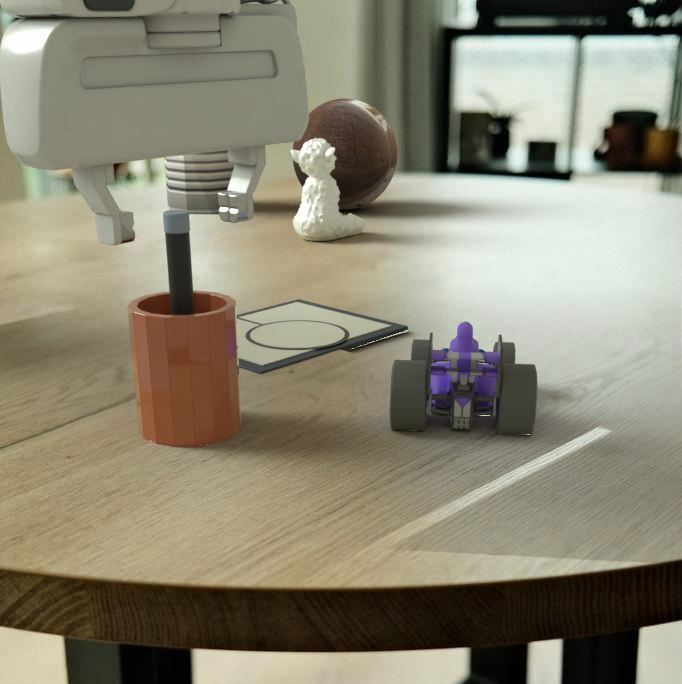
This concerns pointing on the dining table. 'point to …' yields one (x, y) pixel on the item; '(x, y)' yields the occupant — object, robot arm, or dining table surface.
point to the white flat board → (302, 333)
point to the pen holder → (186, 369)
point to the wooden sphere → (353, 149)
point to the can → (197, 181)
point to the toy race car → (463, 385)
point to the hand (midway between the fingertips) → (179, 231)
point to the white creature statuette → (321, 196)
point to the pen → (179, 261)
